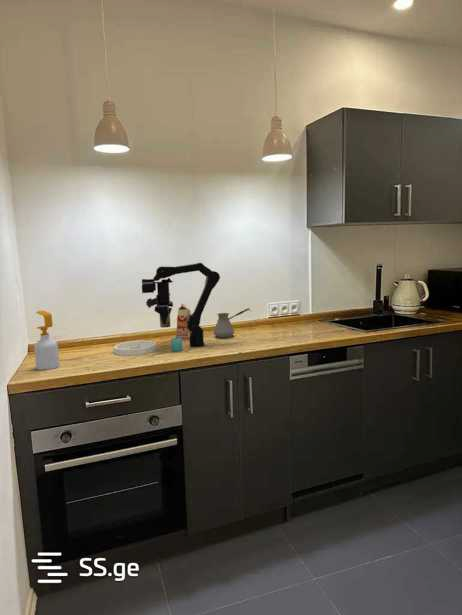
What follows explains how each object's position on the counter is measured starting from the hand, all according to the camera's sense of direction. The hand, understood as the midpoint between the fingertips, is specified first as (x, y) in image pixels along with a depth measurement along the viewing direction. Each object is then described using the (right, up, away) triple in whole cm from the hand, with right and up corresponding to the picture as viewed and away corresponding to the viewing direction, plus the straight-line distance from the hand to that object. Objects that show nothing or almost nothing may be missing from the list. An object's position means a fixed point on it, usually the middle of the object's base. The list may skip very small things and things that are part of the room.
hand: (165, 323), depth 200 cm
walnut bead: (0, -2, 0) cm, 2 cm away
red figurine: (+8, -10, +21) cm, 24 cm away
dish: (-14, -13, -1) cm, 20 cm away
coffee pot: (+34, -8, +25) cm, 42 cm away
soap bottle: (-46, -18, -25) cm, 56 cm away
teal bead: (+7, -13, -5) cm, 15 cm away
